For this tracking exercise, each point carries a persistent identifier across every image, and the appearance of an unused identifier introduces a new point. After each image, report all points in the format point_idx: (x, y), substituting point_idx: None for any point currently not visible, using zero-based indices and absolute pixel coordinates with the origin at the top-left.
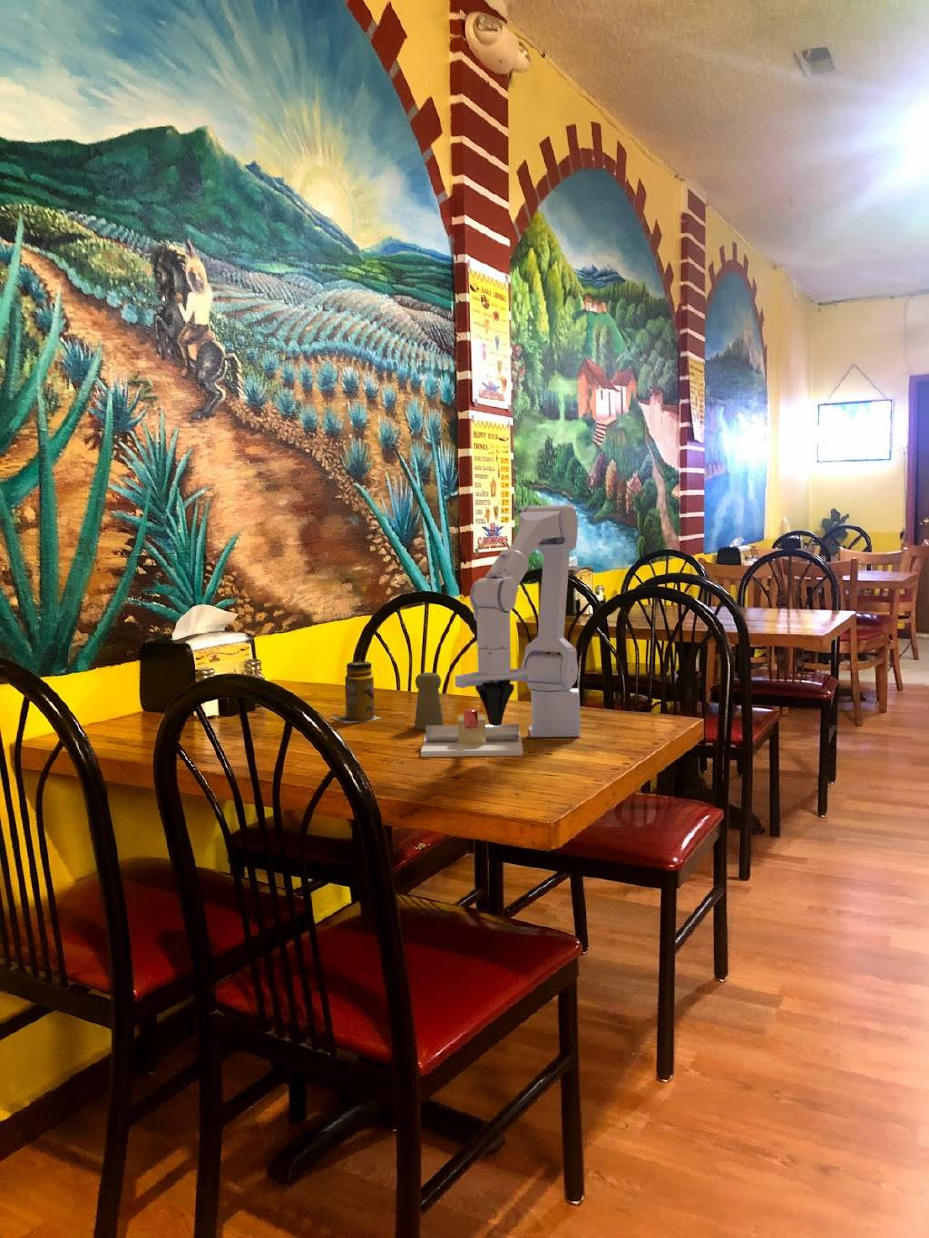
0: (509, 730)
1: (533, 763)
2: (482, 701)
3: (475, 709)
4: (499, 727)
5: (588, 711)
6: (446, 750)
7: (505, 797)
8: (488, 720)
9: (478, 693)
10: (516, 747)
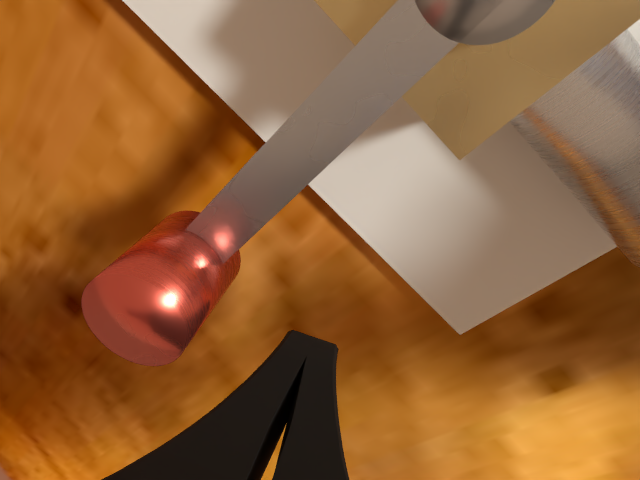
0: (604, 224)
1: (380, 399)
2: (193, 424)
3: (182, 328)
4: (582, 170)
5: None
6: (186, 49)
7: (95, 471)
8: (282, 341)
9: (119, 471)
10: (486, 289)
